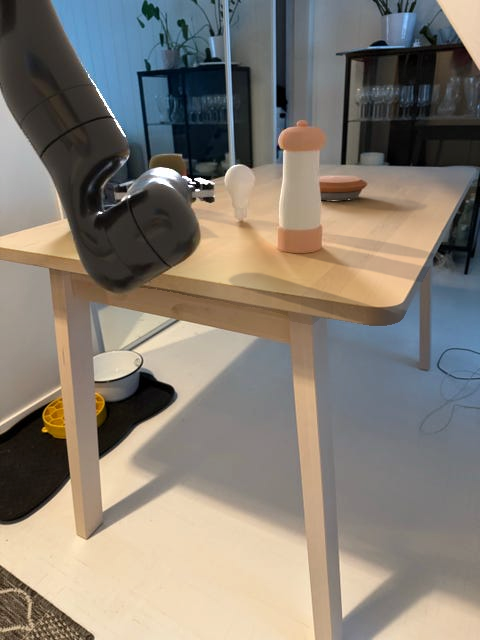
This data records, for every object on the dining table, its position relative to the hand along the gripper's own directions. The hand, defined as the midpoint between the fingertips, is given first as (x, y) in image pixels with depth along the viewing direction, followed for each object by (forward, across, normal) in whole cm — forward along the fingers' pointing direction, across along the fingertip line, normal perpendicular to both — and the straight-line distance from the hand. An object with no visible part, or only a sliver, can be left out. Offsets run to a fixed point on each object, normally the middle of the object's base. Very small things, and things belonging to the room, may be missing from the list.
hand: (170, 183), depth 70 cm
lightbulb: (+21, -12, +11) cm, 27 cm away
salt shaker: (0, -20, +11) cm, 23 cm away
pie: (+43, -37, +10) cm, 58 cm away
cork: (-3, 0, +7) cm, 7 cm away
